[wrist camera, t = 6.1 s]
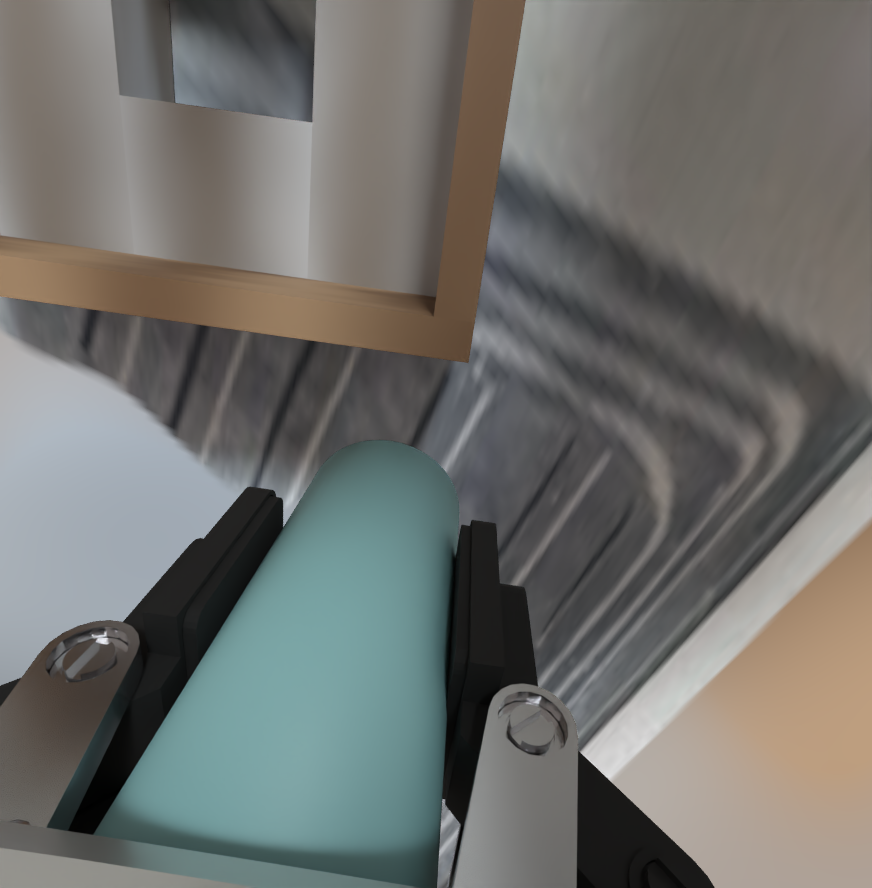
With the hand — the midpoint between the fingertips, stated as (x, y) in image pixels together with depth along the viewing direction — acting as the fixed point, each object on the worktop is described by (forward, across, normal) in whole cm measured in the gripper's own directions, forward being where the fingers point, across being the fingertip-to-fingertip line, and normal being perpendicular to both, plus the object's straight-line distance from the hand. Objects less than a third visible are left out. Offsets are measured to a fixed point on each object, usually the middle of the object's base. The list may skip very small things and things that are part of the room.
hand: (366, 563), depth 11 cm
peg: (+2, 0, 0) cm, 2 cm away
